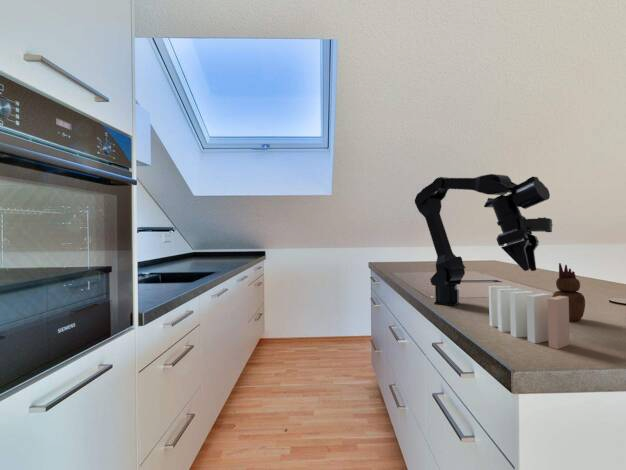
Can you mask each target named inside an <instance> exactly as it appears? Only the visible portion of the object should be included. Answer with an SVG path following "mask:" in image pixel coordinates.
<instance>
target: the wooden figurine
mask: <svg viewBox="0 0 626 470" xmlns="http://www.w3.org/2000/svg"><path fill="white" fill-rule="evenodd" d="M576 276H577V275H576V274H575V271H573V270H572V268H568V265H567V264H564V270H563V267H562V264H561V263H560V262H559V263H558V278H557V279H556V281H555V285H556V289H557V291H555V292H554V293H552V297H556V296H566V297H569V322H576V321H580V320H582V318H583V316H584V315H585V313H584V312H585V310H586V299H585V296H584V294H583V293H581V292H579V290H580V288H581V282H580V280H579V279H578V278H577V277H576ZM552 297H551V298H552Z"/></svg>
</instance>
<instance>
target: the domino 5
mask: <svg viewBox="0 0 626 470" xmlns="http://www.w3.org/2000/svg"><path fill="white" fill-rule="evenodd" d="M548 336H549V341H548V348H552V349H556V350H559V349H562V348H564V347H566V346H567V347H568V346H570V344H571V343H570V341H571V340H570V321H569V297H566V296H556V297H550V298H548Z"/></svg>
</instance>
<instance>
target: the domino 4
mask: <svg viewBox="0 0 626 470" xmlns="http://www.w3.org/2000/svg"><path fill="white" fill-rule="evenodd" d="M548 298H551V294H548V293H544V292H543V293H535V294H533V295H527V334H528V337H527V342H529V343H533V344H539V343H544V342H549V336H548Z"/></svg>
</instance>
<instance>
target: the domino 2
mask: <svg viewBox="0 0 626 470" xmlns="http://www.w3.org/2000/svg"><path fill="white" fill-rule="evenodd" d="M519 291H523V289H521V288H513V289H497V304H498V327H497V330H498V331H499V332H501V333H511V323H510V292H519Z"/></svg>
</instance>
